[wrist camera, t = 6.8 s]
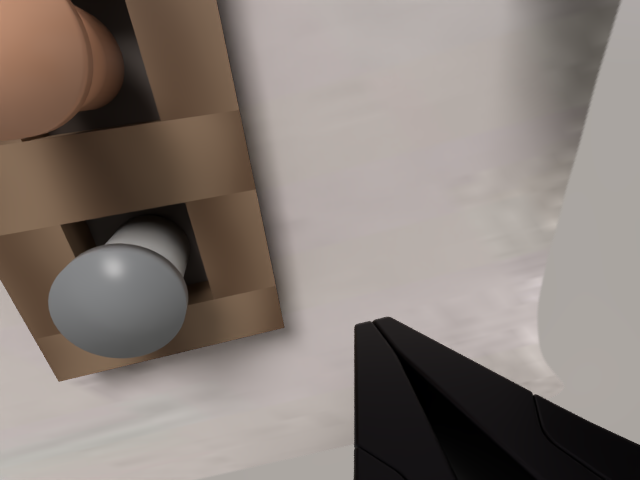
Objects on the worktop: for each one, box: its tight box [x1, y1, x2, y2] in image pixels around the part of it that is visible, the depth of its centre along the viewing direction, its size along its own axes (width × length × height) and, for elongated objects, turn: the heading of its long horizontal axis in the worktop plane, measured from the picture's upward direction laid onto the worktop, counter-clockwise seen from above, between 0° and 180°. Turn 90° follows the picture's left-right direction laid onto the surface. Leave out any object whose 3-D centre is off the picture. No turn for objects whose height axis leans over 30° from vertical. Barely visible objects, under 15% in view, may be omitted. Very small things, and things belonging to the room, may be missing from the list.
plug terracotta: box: [0, 0, 124, 141], centre depth 11 cm, size 5×5×6 cm
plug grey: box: [48, 215, 190, 358], centre depth 16 cm, size 5×5×6 cm
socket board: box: [0, 0, 284, 382], centre depth 16 cm, size 12×20×2 cm, turn 7°
